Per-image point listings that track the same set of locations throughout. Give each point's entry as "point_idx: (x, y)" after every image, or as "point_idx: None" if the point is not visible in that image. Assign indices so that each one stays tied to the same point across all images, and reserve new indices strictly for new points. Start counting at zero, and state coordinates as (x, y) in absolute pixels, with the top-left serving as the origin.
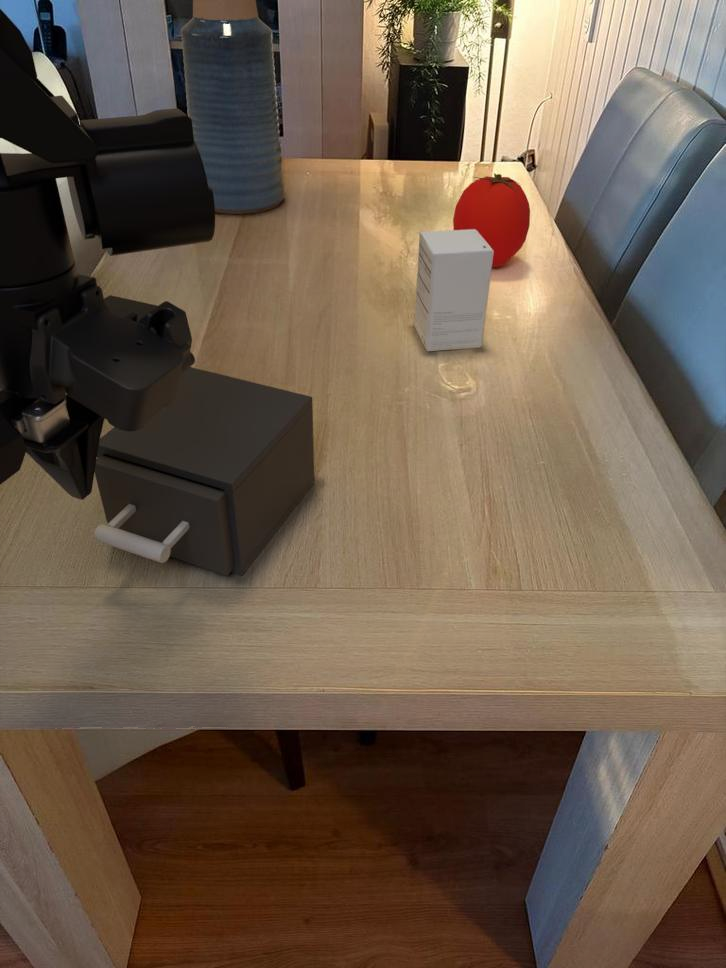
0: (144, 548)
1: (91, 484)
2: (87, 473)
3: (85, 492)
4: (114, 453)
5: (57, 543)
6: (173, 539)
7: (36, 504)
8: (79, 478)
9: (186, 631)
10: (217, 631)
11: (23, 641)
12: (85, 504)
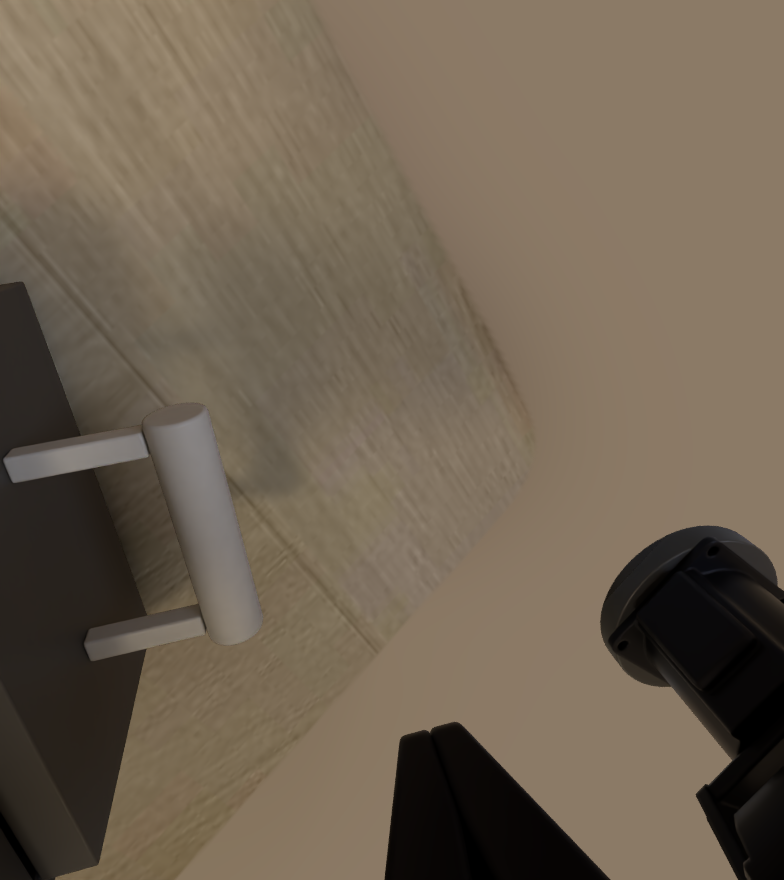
0: (213, 475)
1: (408, 777)
2: (460, 858)
3: (452, 749)
4: (7, 868)
5: (235, 686)
6: (108, 439)
7: (182, 800)
8: (540, 849)
9: (246, 256)
10: (193, 179)
11: (463, 524)
12: None
